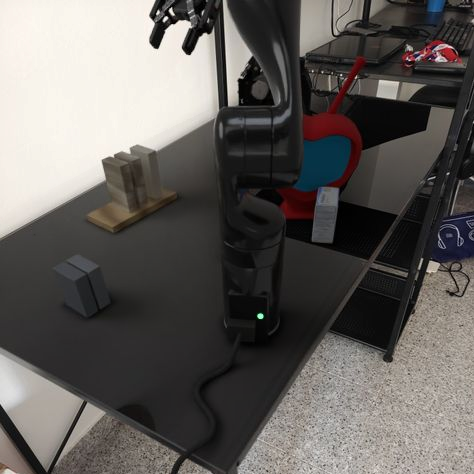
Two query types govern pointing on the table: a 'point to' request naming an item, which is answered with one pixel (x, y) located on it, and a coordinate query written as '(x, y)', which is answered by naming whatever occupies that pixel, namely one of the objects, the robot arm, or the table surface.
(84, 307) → the grey books
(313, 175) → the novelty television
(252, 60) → the typewriter
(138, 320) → the table surface
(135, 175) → the rack
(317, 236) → the medicine box
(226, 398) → the table surface
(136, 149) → the cream book
